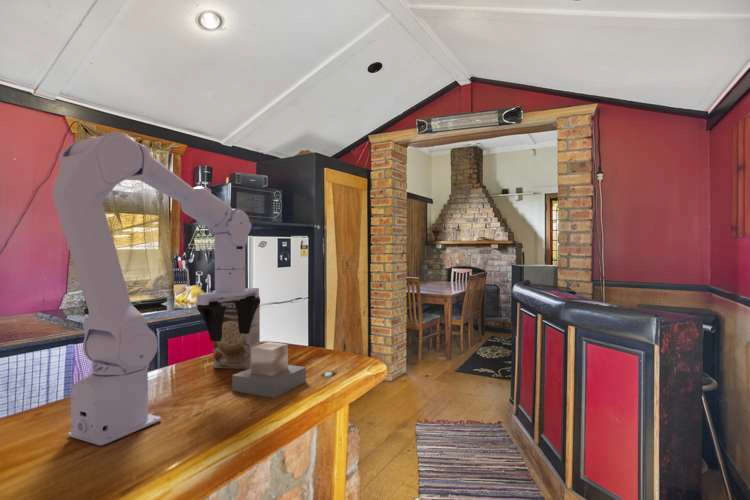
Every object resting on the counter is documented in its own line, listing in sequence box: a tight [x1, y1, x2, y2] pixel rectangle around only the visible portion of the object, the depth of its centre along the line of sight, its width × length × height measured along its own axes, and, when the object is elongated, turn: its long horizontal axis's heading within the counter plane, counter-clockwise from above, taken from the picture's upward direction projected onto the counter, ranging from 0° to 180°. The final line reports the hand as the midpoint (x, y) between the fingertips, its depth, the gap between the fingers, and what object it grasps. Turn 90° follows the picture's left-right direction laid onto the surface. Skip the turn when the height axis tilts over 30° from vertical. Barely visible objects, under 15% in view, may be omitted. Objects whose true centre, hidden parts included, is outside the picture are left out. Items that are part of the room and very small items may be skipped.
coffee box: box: [212, 296, 261, 370], centre depth 96 cm, size 9×6×16 cm
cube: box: [251, 341, 289, 376], centre depth 81 cm, size 5×5×5 cm
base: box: [231, 364, 307, 399], centre depth 81 cm, size 10×10×3 cm
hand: (230, 337), depth 82 cm, fingers open, 7 cm apart
